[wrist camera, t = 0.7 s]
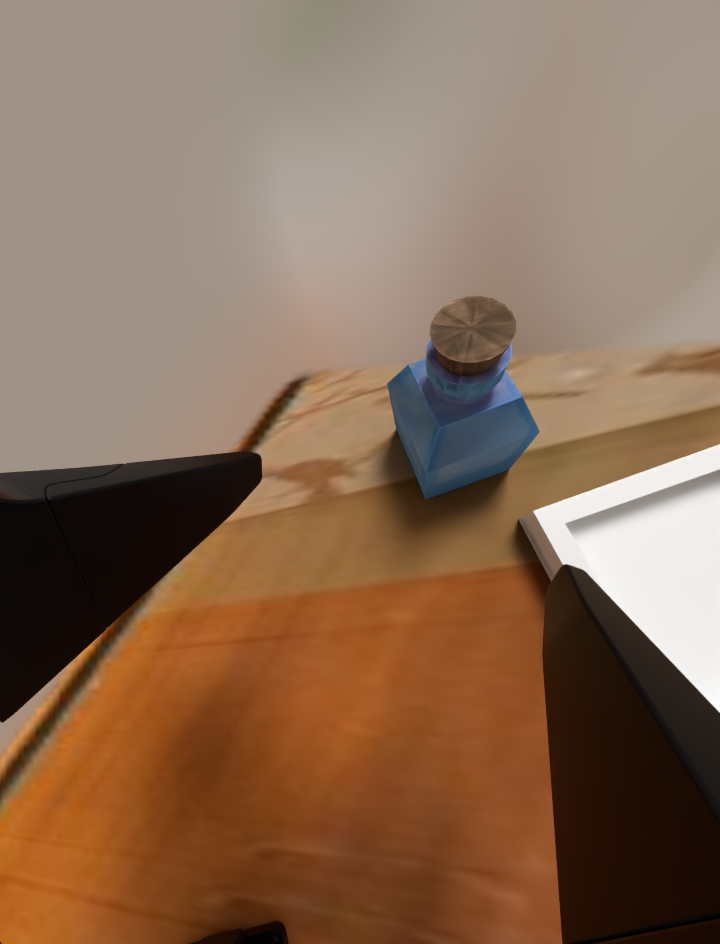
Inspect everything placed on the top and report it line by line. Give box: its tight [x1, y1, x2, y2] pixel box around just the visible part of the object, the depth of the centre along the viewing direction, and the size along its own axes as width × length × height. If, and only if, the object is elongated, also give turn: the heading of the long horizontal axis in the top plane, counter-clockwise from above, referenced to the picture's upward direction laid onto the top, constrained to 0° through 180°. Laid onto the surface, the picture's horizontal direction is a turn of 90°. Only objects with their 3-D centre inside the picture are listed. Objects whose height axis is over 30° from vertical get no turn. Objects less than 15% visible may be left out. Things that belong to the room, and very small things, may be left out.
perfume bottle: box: [387, 296, 539, 500], centre depth 17 cm, size 6×6×12 cm
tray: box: [518, 444, 720, 712], centre depth 16 cm, size 13×13×3 cm
